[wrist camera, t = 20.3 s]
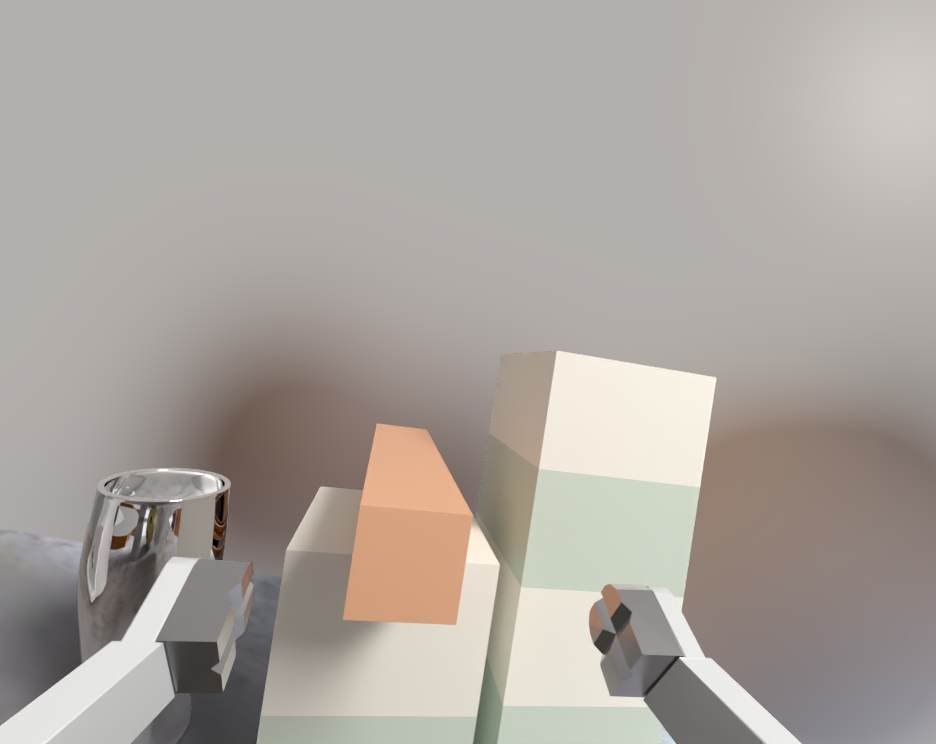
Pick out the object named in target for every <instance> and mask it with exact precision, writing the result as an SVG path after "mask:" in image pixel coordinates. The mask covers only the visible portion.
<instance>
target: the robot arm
mask: <svg viewBox="0 0 936 744" xmlns="http://www.w3.org/2000/svg"><path fill="white" fill-rule="evenodd" d="M252 575H253V562H241V561H227V560H213V559H201V558H188V557H172V558H171V559H170V560H169V561H168V562H167V563H166V564H165V565H164V567H163V569H162V571H161V572H160V574H159V576H158V578H157V579H156V581H155V583H154V584H153V586H152V588H151V590H150V591H149V593H148V595H147V597H146V598H145V600H144V602H143V603H142V605H141V607H140V609H139V610H138V612H137V614H136V616H135V617H134V619H133V621H132V622H131V624H130V626H129V628H128V629H127V631H126V633H125V635H124V636H123V638H122V640H121V641H111V642H110V643H109V644H107V645H106V646H105V647H103V648H102V649H101V650H99V651H98V652H97V653H95V654H94V655H93V656H91V657H90V658H89V659H88V660H86V661H85V662H84V663H82V664H81V665H80V666H78V667H77V668H76V669H74V670H73V671H72V672H70V673H69V674H68V675H67V676H65V677H64V678H63V679H61V680H60V681H59V682H57V683H56V684H55V685H53V686H52V687H51V688H49V689H48V690H47V691H46V692H44V693H43V694H42V695H40V696H39V697H38V698H36V699H35V700H34V701H32V702H31V703H30V704H28V705H27V706H26V707H25V708H23V709H22V710H21V711H19V712H18V713H17V714H15V715H14V716H13V717H11V718H10V719H9V720H7V721H6V722H5V723H3V724H2V725H1V726H0V744H131V743H132V742H133V741H134V740H135V738H136V737H137V736H138V735H139V734H140V733H141V732H142V731H143V730H144V729H145V728H146V727H147V726H148V725H149V724H150V723H151V721H152V720H153V719H154V718H155V717H156V716H157V715H158V714H159V713H160V712H161V711H162V710H163V709H164V708H165V707H166V706H167V704H168V703H169V702H170V701H171V700H172V699H173V698H174V697H175V694H174V693H220V692H223V691H224V688H225V685H226V683H227V680H228V677H229V674H230V671H231V668H232V666H233V663H234V660H235V657H236V647H235V640H236V639H238V638H239V637H240V636H241V635H242V634H243V633H244V631H245V628H246V625H247V622H248V619H249V616H250V612H251V608H252V604H253V597H254V585H253V584H252V583H251V582H250V580H251V577H252ZM601 594H602V597H603V598H602V599H600V600H598V601H597V602H595V603H594V604H593V606H592V608H591V610H590V613H589V629H590V635H591V638H592V641H593V644H594V645H595V647H596V648H597V649H598V650H599V651H600V652H601V653H602V654H603V655H602V658H601V662H600V667H601V670H602V673H603V676H604V679H605V682H606V685H607V688H608V691H609V694H610V696H618V697H642V698H644V699H643V700H644V702H645V703H646V704H647V706H648V707H649V708H650V710H651V711H652V712H653V714H654V715H655V716H656V717H657V719H658V720H659V721H660V723H661V724H662V725H663V727H664V728H665V729H666V731H667V732H668V733H669V735H670V736H671V737H672V739H673V740H674V741H675V743H676V744H801V743H800V742H799V741H798V740H797V739H796V738H795V737H794V736H793V735H792V734H791V733H790V732H789V731H788V730H786V729H785V728H784V727H783V726H782V725H781V724H780V723H779V722H778V721H777V720H776V719H775V718H774V717H773V716H771V715H770V714H769V713H768V712H767V711H766V710H765V709H764V708H763V707H762V706H761V705H760V704H759V703H758V702H757V701H756V700H755V699H754V698H753V697H752V696H750V695H749V694H748V693H747V692H746V691H745V690H744V689H743V688H742V687H741V686H740V685H739V684H737V682H736V681H735V680H733V679H732V678H731V677H730V676H729V675H728V674H727V673H726V672H725V671H724V670H723V669H722V668H721V667H720V666H718V664H717V663H715V662H714V661H713V660H712V659H711V658H705V656H704V654H703V652H702V651H701V649H700V647H699V645H698V643H697V641H696V639H695V637H694V635H693V633H692V631H691V629H690V627H689V625H688V624H687V622H686V620H685V618H684V616H683V614H682V612H681V610H680V608H679V606H678V604H677V602H676V600H675V598H674V597H673V595H672V593H671V592H670V591H669V590H668V589H667V588H665V587H660V586H645V585H628V584H608V585H605V586H604V588H603V589H602V591H601Z"/></svg>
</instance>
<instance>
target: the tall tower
mask: <svg viewBox="0 0 936 744" xmlns="http://www.w3.org/2000/svg"><path fill="white" fill-rule="evenodd" d="M499 364H500V365H499V370H498V377H497V383H496V390H495V397H494V403H493V410H492V417H491V423H490V429H489V436H488V442H487V449H486V456H485V462H484V469H483V475H482V483H481V488H480V495H479V502H478V508H477V515H476V522H477V524H478V526H479V527H480V529H481V531H482V533H483V535H484V537H485V538H486V540H487V542H488V544H489V546H490V548H491V549H492V551H493V553H494V555H495V557H496V559H497V560H498V562H499V564H500V568H499V575H498V581H497V588H496V595H495V601H494V608H493V614H492V621H491V628H490V634H489V641H488V647H487V654H486V661H485V667H484V674H483V680H482V687H481V693H480V700H479V707H478V713H477V720H476V726H475V733H474V740H473V744H661V743H662V737H663V730H664V727H663V725H662V724H661V723H660V721H659V720H658V719H657V717H656V716H655V715H654V714H653V712H652V711H651V710H650V708H649V707H648V706H647V704H646V703H645V702H644V700H643V699H644V698H642V697H618V696H610V694H609V691H608V688H607V685H606V682H605V679H604V676H603V673H602V670H601V667H600V662H601V658H602V655H603V654H602V653H601V652H600V651H599V650H598V649H597V648H596V647H595V645H594V644H593V641H592V638H591V635H590V629H589V613H590V610H591V608H592V606H593V604H594V603H595V602H597V601H598V600H600V599H602V598H603V597H602V594H601V591H602V589H603V588H604V586H605V585H608V584H628V585H645V586H660V587H665V588H667V589H668V590H669V591H670V592H671V593H672V595H673V597H674V598H675V600H676V602H677V604H678V606H679V608H680V610H681V609H682V603H683V597H684V590H685V583H686V577H687V570H688V563H689V556H690V550H691V543H692V536H693V530H694V523H695V517H696V510H697V503H698V497H699V490H700V484H701V477H702V470H703V463H704V457H705V450H706V443H707V437H708V430H709V424H710V417H711V410H712V404H713V397H714V390H715V384H716V377H710V376H704V375H698V374H692V373H686V372H681V371H675V370H669V369H662V368H657V367H651V366H644V365H639V364H633V363H627V362H621V361H615V360H609V359H603V358H597V357H591V356H586V355H580V354H573V353H568V352H562V351H546V352H529V353H513V354H501V357H500V363H499Z"/></svg>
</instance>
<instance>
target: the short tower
mask: <svg viewBox="0 0 936 744" xmlns="http://www.w3.org/2000/svg"><path fill="white" fill-rule="evenodd" d="M362 494H363V491H362V490H351V489H341V488H331V487H320V489H319V491H318V493H317V495H316V496H315V498H314V500H313V502H312V504H311V506H310V507H309V509H308V511H307V513H306V514H305V516H304V518H303V520H302V522H301V524H300V526H299V527H298V529H297V531H296V533H295V535H294V537H293V538H292V540H291V542H290V544H289V546H288V547H287V549H286V554H285V561H284V567H283V574H282V580H281V587H280V593H279V600H278V606H277V613H276V619H275V626H274V632H273V639H272V645H271V652H270V658H269V665H268V671H267V678H266V684H265V691H264V697H263V704H262V710H261V717H260V723H259V730H258V736H257V743H256V744H473V740H474V733H475V726H476V720H477V713H478V707H479V700H480V693H481V687H482V680H483V674H484V667H485V661H486V654H487V647H488V641H489V634H490V628H491V621H492V614H493V608H494V601H495V595H496V588H497V581H498V575H499V568H500V564H499V562H498V560H497V559H496V557H495V555H494V553H493V551H492V549H491V548H490V546H489V544H488V542H487V540H486V538H485V537H484V535H483V533H482V531H481V529H480V527H479V526H478V524H477V522H476V520H475V518H474V516H473V517H472V524H471V531H470V537H469V544H468V550H467V557H466V564H465V570H464V577H463V583H462V590H461V596H460V603H459V610H458V616H457V623H456V625H444V624H422V623H399V622H377V621H355V620H343V615H344V608H345V601H346V595H347V588H348V582H349V575H350V569H351V562H352V556H353V549H354V543H355V536H356V529H357V523H358V516H359V510H360V504H361V499H362Z"/></svg>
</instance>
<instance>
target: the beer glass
mask: <svg viewBox="0 0 936 744" xmlns="http://www.w3.org/2000/svg"><path fill="white" fill-rule="evenodd" d="M230 485H231V483H230V481H229V480H228V479H227V478H226V477H224V476H222V475H220V474H217V473H213V472H208V471H203V470H195V469H184V468H154V469H142V470H135V471H128V472H122V473H118V474H115V475H112V476H109V477H106V478H104V479H103V480H101V481H100V482H99V483H98V484H97V491H96V495H95V499H94V503H93V506H92V511H91V514H90V517H89V521H88V525H87V529H86V533H85V538H84V542H83V547H82V553H81V558H80V565H79V574H78V582H77V613H78V628H79V640H80V652H81V664H82V663H84V662H85V661H86V660H88V659H89V658H90V657H91V656H93V655H94V654H95V653H97V652H98V651H99V650H101V649H102V648H103V647H105V646H106V645H107V644H109V643H110V642H111V641H121V640H122V638H123V636H124V635H125V633H126V631H127V629H128V628H129V626H130V624H131V622H132V621H133V619H134V617H135V616H136V614H137V612H138V610H139V609H140V607H141V605H142V603H143V602H144V600H145V598H146V597H147V595H148V593H149V591H150V590H151V588H152V586H153V584H154V583H155V581H156V579H157V578H158V576H159V574H160V572H161V571H162V569H163V567H164V565H165V564H166V563H167V562H168V561H169V560H170V559H171V558H172V557H188V558H201V559H213V560H223V554H224V549H225V541H226V532H227V521H228V506H229V491H230ZM174 694H175V697H174V698H173V699H172V700H171V701H170V702H169V703H168V704H167V706H166V707H165V708H164V709H163V710H162V711H161V712H160V713H159V714H158V715H157V716H156V717H155V718H154V719H153V720H152V721H151V723H150V724H149V725H148V726H147V727H146V728H145V729H144V730H143V731H142V732H141V733H140V734H139V735H138V736H137V737H136V738H135V740H134V741H133V742H132V743H131V744H176V743H177V742H178V741H179V740H180V739H181V737H182V736H183V734H184V733H185V731H186V729H187V727H188V725H189V722H190V718H191V693H174Z"/></svg>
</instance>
